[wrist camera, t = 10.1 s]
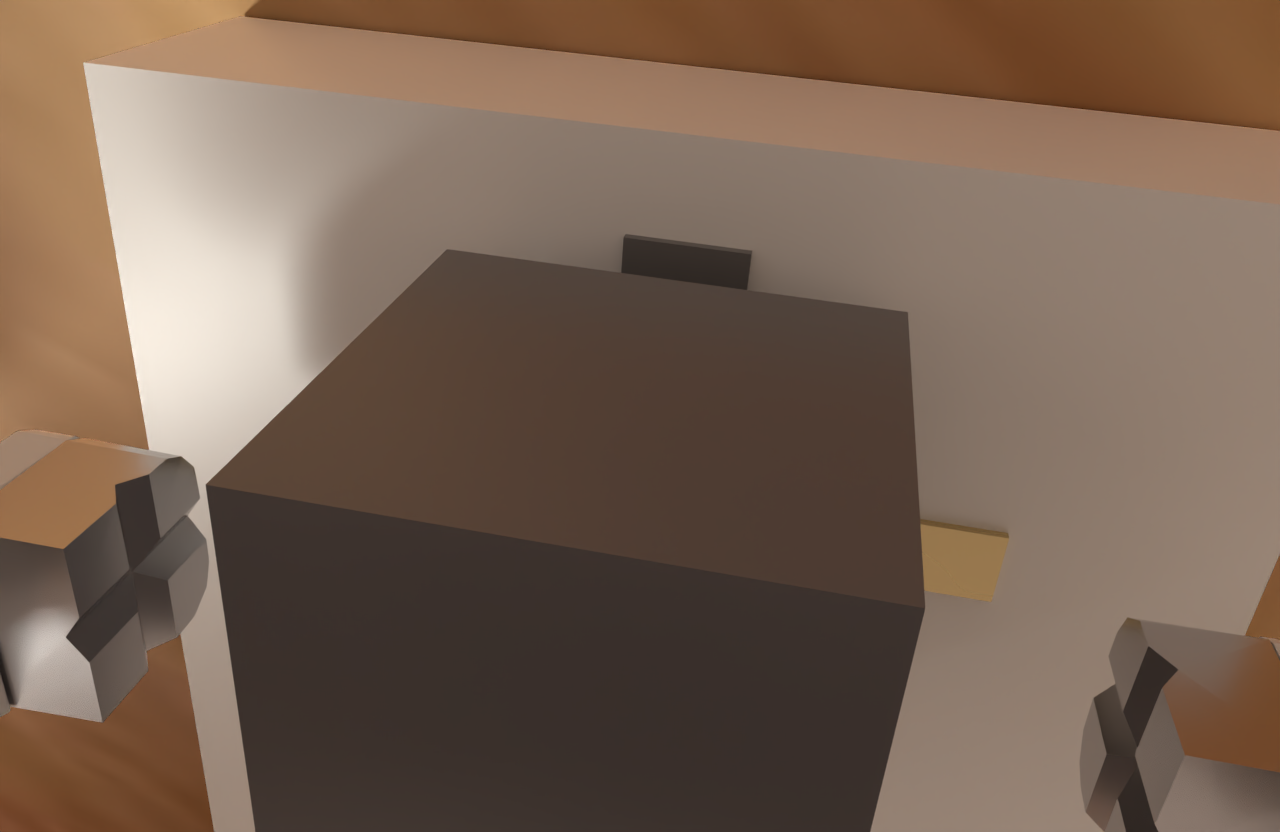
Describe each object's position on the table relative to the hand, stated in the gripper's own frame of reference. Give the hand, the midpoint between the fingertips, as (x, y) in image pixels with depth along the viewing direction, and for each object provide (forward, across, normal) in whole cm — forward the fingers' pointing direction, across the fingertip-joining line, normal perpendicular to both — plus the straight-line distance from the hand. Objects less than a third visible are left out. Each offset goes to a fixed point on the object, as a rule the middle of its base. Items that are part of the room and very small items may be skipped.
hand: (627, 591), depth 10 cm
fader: (+2, 0, 0) cm, 2 cm away
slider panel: (+5, 0, -8) cm, 9 cm away
